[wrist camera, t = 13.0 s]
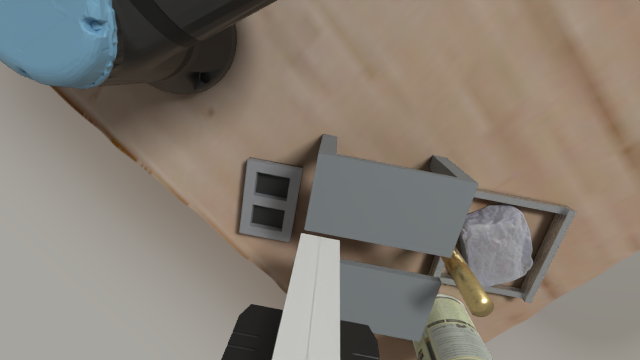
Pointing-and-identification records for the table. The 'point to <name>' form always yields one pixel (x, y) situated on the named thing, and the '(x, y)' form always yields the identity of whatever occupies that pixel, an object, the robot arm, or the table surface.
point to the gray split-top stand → (388, 231)
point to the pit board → (270, 199)
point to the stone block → (496, 244)
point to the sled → (553, 238)
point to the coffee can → (450, 334)
